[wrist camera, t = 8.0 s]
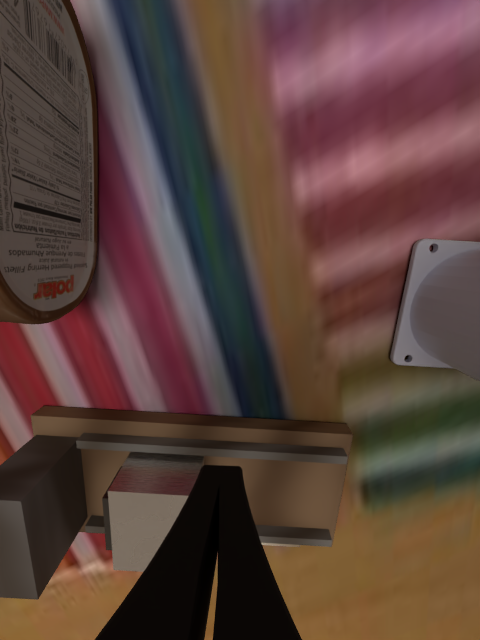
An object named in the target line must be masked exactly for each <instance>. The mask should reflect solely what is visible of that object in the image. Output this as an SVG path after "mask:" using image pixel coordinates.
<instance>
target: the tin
mask: <svg viewBox="0 0 480 640" xmlns="http://www.w3.org/2000/svg"><path fill="white" fill-rule="evenodd" d="M97 213H98V137H97V103H96V93H95V86H94V80H93V74H92V69H91V64H90V60H89V56H88V52H87V48H86V45H85V41H84V37H83V34H82V31H81V28H80V25H79V22H78V19H77V16H76V14H75V11H74V9H73V6H72V4H71V2H70V0H0V322H12V323H23V324H43V323H48V322H52V321H54V320H57V319H59V318H61V317H62V316H64V315H65V314H67V313H69V312H70V311H72V310H73V309H74V308H75V307H77V306H78V305H79V304H80V302H81V301H82V299H83V298H84V296H85V295H86V293H87V291H88V289H89V286H90V284H91V281H92V278H93V274H94V271H95V266H96V259H97Z"/></svg>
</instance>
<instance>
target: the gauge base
mask: <svg viewBox="0 0 480 640" xmlns="http://www.w3.org/2000/svg"><path fill="white" fill-rule="evenodd" d="M31 421H32V428H33V434H34V437H33V438H32V439H31V440H30V441H29V442H27V443H26V444H25V445H24V446H23V447H21V448H20V449H19V450H18V451H17V452H16V453H14V454H13V455H12V456H11V457H10V458H8V459H7V460H6V461H5V462H4V463H3V464H1V465H0V597H4V598H22V599H39V597H40V595H41V594H42V592H43V590H44V589H45V587H46V585H47V584H48V582H49V580H50V579H51V577H52V575H53V574H54V572H55V570H56V569H57V567H58V565H59V564H60V562H61V560H62V559H63V557H64V555H65V554H66V552H67V551H68V549H69V547H70V546H71V544H72V542H73V541H74V539H75V537H76V536H77V534H78V532H88V533H105V527H104V515H103V503H102V498H103V496H104V494H105V493H106V491H107V489H108V487H109V486H110V484H111V482H112V481H113V479H114V477H115V476H116V474H117V472H118V470H119V469H120V467H121V466H123V464H124V462H125V461H126V459H127V457H128V456H129V454H130V452H146V453H163V454H180V455H197V456H204V465H223V466H240V467H241V468H242V469H243V479H244V485H245V490H246V494H247V498H248V502H249V506H250V509H251V513H252V516H253V519H254V522H255V525H256V529H257V532H258V535H259V538H260V541H261V544H262V545H273V546H290V547H300V545H311V546H328V547H332V544H333V539H334V533H335V528H336V523H337V517H338V512H339V507H340V501H341V496H342V491H343V486H344V480H345V475H346V470H347V464H348V459H349V454H350V448H351V443H352V438H353V434H352V432H351V431H350V429H349V427H348V426H347V424H343V423H327V422H310V421H293V420H276V419H260V418H243V417H226V416H209V415H193V414H176V413H159V412H142V411H126V410H109V409H92V408H75V407H59V406H43V407H42V408H40V409H39V410H38V411H36V412H35V413H33V414H32V415H31Z"/></svg>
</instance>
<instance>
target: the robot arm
mask: <svg viewBox="0 0 480 640" xmlns="http://www.w3.org/2000/svg"><path fill="white" fill-rule="evenodd" d="M430 245H433V250H432V251H431V252H430V250H429V247H430ZM407 355H409V357H408V359H406V360H404V358H405V356H407ZM390 359H391V361H392V362H393V363H395V364H397V365H407V366H424V367H440V368H455V369H457V370H459V371H461V372H463V373H464V374H466V375H468V376H470V377H472V378H474V379H476V380H478V381H480V242H471V241H455V240H439V239H421V240H418V241H417V242H416V243H415V244H414V246H413V250H412V255H411V260H410V264H409V269H408V274H407V279H406V283H405V288H404V293H403V298H402V303H401V307H400V312H399V317H398V322H397V326H396V331H395V336H394V341H393V345H392V350H391V355H390ZM217 553H218V587H217V599H216V610H215V622H214V633H213V640H302V639H301V637H300V635H299V633H298V630H297V628H296V626H295V624H294V622H293V620H292V617H291V615H290V613H289V611H288V608H287V606H286V604H285V602H284V599H283V597H282V595H281V592H280V590H279V588H278V585H277V583H276V580H275V578H274V575H273V573H272V570H271V568H270V565H269V562H268V560H267V557H266V554H265V552H264V549H263V546H262V544H261V541H260V538H259V535H258V532H257V529H256V525H255V522H254V519H253V516H252V513H251V509H250V506H249V502H248V498H247V494H246V490H245V485H244V479H243V469H242V468H241V467H240V466H223V465H204V466H202V467H201V469H200V472H199V475H198V477H197V479H196V482H195V484H194V486H193V488H192V490H191V492H190V494H189V496H188V498H187V500H186V502H185V504H184V506H183V508H182V509H181V511H180V513H179V515H178V517H177V518H176V520H175V522H174V524H173V526H172V527H171V529H170V531H169V532H168V534H167V536H166V537H165V539H164V540H163V542H162V544H161V545H160V547H159V549H158V550H157V552H156V553H155V555H154V557H153V558H152V560H151V561H150V563H149V564H148V566H147V567H146V569H145V570H144V572H143V573H142V575H141V576H140V578H139V579H138V581H137V582H136V584H135V585H134V587H133V588H132V589H131V591H130V592H129V594H128V595H127V597H126V598H125V599H124V601H123V602H122V604H121V605H120V606H119V608H118V609H117V610H116V612H115V613H114V614H113V616H112V617H111V619H110V620H109V621H108V623H107V624H106V625H105V627H104V628H103V629H102V631H101V632H100V633H99V635H98V636H97V637H96V639H95V640H204V637H205V631H206V624H207V618H208V611H209V605H210V598H211V592H212V585H213V579H214V572H215V566H216V559H217Z"/></svg>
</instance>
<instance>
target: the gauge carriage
mask: <svg viewBox="0 0 480 640" xmlns="http://www.w3.org/2000/svg"><path fill="white" fill-rule="evenodd" d="M202 466H204V456H197V455H180V454H163V453H146V452H130V454H129V456H128V457H127V459H126V461H125V462H124V464H123V466H121V467H120V469H119V470H118V472H117V474H116V476H115V477H114V479H113V481H112V482H111V484H110V486H109V487H108V489H107V491H106V493H105V494H104V496H103V498H102V503H103V515H104V527H105V539H106V550H112V554H113V568H114V570H125V571H142V572H144V570H145V569H146V567H147V566H148V564H149V563H150V561H151V560H152V558H153V557H154V555H155V553H156V552H157V550H158V549H159V547H160V545H161V544H162V542H163V540H164V539H165V537H166V536H167V534H168V532H169V531H170V529H171V527H172V526H173V524H174V522H175V520H176V518H177V517H178V515H179V513H180V511H181V509H182V508H183V506H184V504H185V502H186V500H187V498H188V496H189V494H190V492H191V490H192V488H193V486H194V484H195V482H196V479H197V477H198V475H199V472H200V469H201V467H202Z"/></svg>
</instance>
